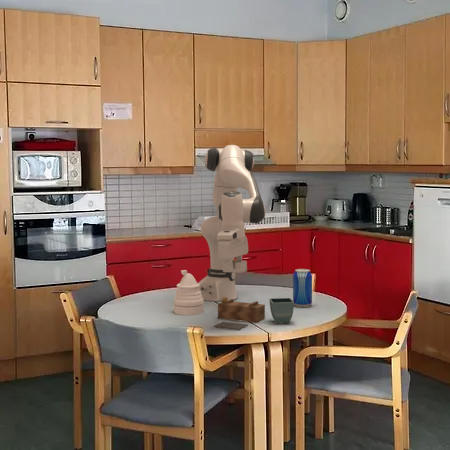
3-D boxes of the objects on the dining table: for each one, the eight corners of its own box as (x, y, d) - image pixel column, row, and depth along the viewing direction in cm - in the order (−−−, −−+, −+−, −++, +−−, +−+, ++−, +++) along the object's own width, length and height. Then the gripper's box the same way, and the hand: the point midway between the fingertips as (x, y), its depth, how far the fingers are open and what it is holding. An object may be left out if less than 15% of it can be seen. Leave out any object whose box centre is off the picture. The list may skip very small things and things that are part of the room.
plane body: (217, 318, 283) (217, 299, 282) (225, 314, 289) (225, 295, 288) (257, 322, 275) (257, 302, 274) (264, 318, 281) (264, 299, 280)
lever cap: (223, 272, 268) (222, 260, 268) (228, 270, 273) (228, 258, 272) (241, 272, 265) (241, 260, 264) (246, 270, 269) (246, 259, 269)
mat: (213, 327, 267) (213, 325, 267) (222, 322, 274) (222, 321, 274) (238, 330, 262) (238, 328, 262) (247, 325, 270) (247, 324, 269)
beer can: (311, 308, 301) (311, 272, 299) (292, 307, 302) (292, 271, 301) (312, 304, 309) (312, 268, 307) (294, 303, 311) (294, 268, 309)
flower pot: (268, 319, 279) (268, 298, 279) (290, 319, 280) (290, 297, 279) (272, 325, 271) (272, 302, 270) (294, 324, 271) (294, 302, 271)
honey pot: (181, 316, 287) (180, 273, 285) (169, 310, 298) (168, 269, 296) (208, 313, 292) (208, 271, 291) (195, 307, 304) (195, 267, 302)
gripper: (237, 230, 278) (238, 264, 279) (214, 235, 260) (216, 271, 261) (251, 230, 275) (252, 264, 276) (229, 235, 257) (231, 272, 258)
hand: (234, 268), depth 268 cm, fingers closed on lever cap, 5 cm apart
